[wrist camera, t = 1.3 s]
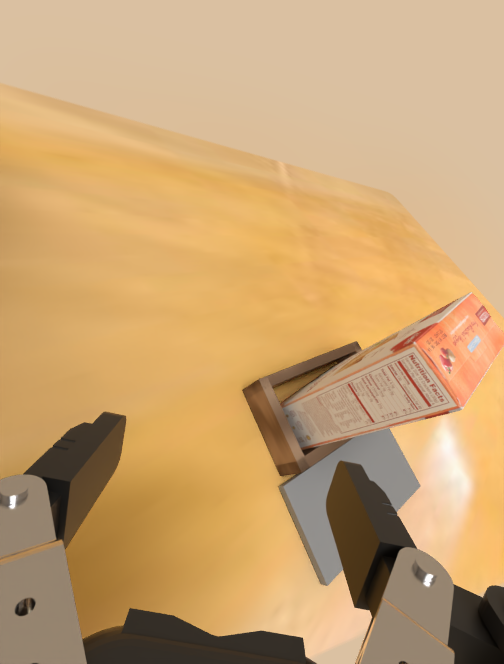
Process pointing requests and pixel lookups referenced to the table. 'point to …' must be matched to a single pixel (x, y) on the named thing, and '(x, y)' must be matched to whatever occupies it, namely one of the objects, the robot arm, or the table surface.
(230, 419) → the table surface
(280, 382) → the walnut collar
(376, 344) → the cracker box
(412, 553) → the robot arm
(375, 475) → the flat gray rectangular board
